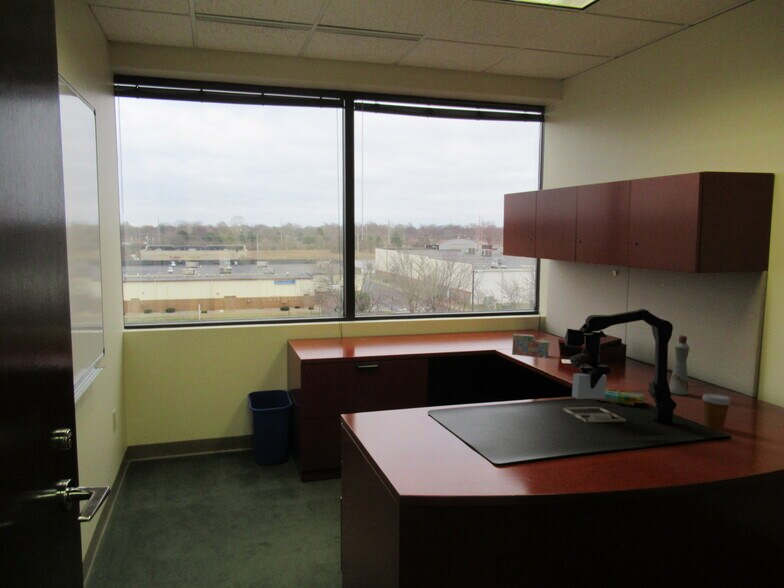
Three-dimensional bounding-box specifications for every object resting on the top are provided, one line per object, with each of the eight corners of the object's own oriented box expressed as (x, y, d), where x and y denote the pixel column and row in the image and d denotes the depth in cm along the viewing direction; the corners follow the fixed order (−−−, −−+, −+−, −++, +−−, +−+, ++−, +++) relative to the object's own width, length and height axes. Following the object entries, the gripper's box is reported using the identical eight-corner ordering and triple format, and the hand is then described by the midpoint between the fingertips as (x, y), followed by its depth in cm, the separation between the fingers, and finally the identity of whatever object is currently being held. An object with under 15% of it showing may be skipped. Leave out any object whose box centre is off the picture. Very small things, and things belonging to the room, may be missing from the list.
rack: (625, 424, 220) (626, 419, 219) (585, 425, 215) (585, 420, 215) (599, 411, 236) (599, 406, 236) (561, 412, 232) (561, 407, 232)
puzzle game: (595, 385, 263) (644, 392, 255) (595, 395, 264) (643, 402, 256) (593, 390, 253) (643, 398, 245) (592, 401, 253) (642, 408, 245)
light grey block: (604, 398, 228) (606, 375, 228) (577, 398, 226) (579, 375, 225) (598, 395, 232) (600, 373, 232) (571, 396, 229) (573, 373, 229)
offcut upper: (611, 420, 220) (611, 416, 220) (593, 419, 219) (593, 415, 219) (607, 417, 223) (607, 413, 223) (589, 417, 222) (590, 413, 222)
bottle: (662, 391, 277) (668, 333, 275) (677, 390, 280) (682, 333, 278) (677, 396, 269) (683, 336, 267) (692, 395, 272) (698, 336, 270)
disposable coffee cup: (713, 431, 217) (716, 399, 216) (693, 423, 226) (696, 393, 225) (733, 430, 219) (737, 399, 218) (713, 422, 228) (716, 392, 227)
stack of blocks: (547, 356, 357) (549, 336, 356) (548, 357, 351) (549, 337, 350) (512, 352, 362) (513, 333, 361) (511, 354, 356) (513, 334, 354)
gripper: (561, 343, 234) (558, 381, 236) (587, 352, 216) (584, 393, 218) (585, 343, 237) (582, 381, 238) (613, 352, 219) (610, 393, 220)
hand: (589, 387), depth 229 cm, fingers closed on light grey block, 4 cm apart
